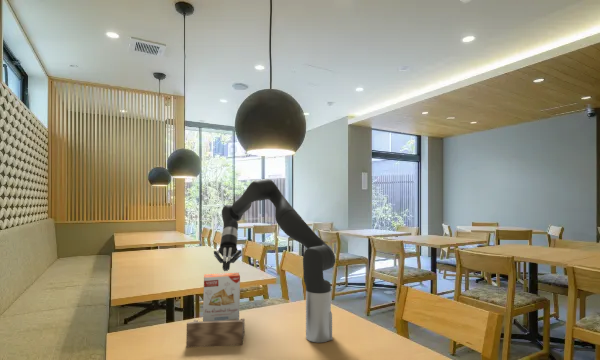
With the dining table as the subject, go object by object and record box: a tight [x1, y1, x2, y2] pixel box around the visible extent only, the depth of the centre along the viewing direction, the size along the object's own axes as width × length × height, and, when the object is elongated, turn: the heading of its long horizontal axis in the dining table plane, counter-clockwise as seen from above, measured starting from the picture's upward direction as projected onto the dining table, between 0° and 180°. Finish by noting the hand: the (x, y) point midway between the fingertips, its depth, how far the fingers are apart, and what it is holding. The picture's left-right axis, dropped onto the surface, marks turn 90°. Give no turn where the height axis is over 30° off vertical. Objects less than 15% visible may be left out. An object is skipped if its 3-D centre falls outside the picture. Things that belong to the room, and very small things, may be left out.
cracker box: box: [202, 272, 241, 321], centre depth 133 cm, size 14×6×21 cm, turn 105°
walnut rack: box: [185, 318, 246, 348], centre depth 122 cm, size 19×12×8 cm, turn 95°
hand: (225, 270), depth 146 cm, fingers closed
